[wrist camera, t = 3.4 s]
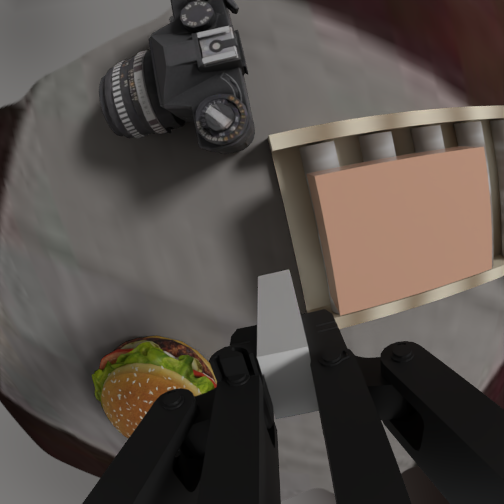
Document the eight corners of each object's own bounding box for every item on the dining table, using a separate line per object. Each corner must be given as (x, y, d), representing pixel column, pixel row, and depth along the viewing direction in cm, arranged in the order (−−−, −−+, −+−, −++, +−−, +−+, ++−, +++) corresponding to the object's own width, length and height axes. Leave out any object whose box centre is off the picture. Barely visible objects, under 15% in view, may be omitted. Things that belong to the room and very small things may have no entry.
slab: (330, 296, 26) (340, 315, 23) (306, 173, 23) (314, 176, 20) (470, 256, 25) (491, 268, 21) (459, 146, 22) (483, 146, 19)
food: (150, 431, 35) (134, 477, 28) (89, 344, 32) (56, 386, 24) (250, 411, 34) (249, 464, 26) (196, 310, 30) (178, 356, 23)
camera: (117, 36, 23) (65, -4, 14) (230, 1, 22) (219, -60, 13) (145, 176, 27) (91, 186, 17) (267, 145, 26) (273, 136, 17)
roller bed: (308, 318, 30) (321, 364, 23) (267, 138, 26) (271, 129, 19) (547, 242, 28) (587, 260, 20) (536, 107, 23) (580, 105, 16)
